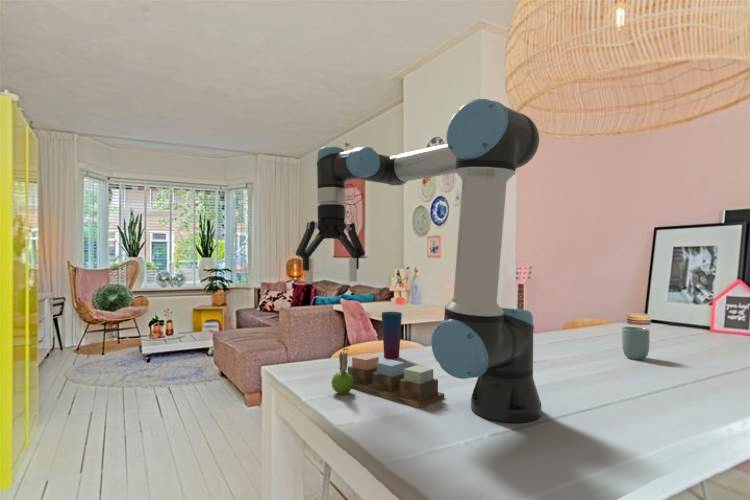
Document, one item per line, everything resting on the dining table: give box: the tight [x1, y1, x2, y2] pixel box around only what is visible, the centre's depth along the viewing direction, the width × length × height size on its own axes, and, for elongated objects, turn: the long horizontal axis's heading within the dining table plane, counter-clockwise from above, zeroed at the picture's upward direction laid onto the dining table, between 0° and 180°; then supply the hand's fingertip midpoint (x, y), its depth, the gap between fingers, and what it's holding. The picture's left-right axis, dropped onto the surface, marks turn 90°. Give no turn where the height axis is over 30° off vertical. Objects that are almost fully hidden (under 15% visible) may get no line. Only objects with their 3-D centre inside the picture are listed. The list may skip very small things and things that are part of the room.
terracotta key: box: [351, 353, 379, 371], centre depth 121 cm, size 5×5×3 cm
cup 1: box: [381, 311, 403, 360], centre depth 151 cm, size 7×7×15 cm
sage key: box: [404, 364, 434, 385], centre depth 108 cm, size 5×5×3 cm
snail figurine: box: [331, 347, 353, 395], centre depth 112 cm, size 5×6×12 cm
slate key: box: [377, 359, 405, 377], centre depth 115 cm, size 5×5×3 cm
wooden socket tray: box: [347, 365, 445, 409], centre depth 115 cm, size 26×10×5 cm, turn 47°
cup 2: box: [621, 326, 650, 361], centre depth 151 cm, size 8×8×10 cm
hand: (331, 282), depth 123 cm, fingers open, 13 cm apart
